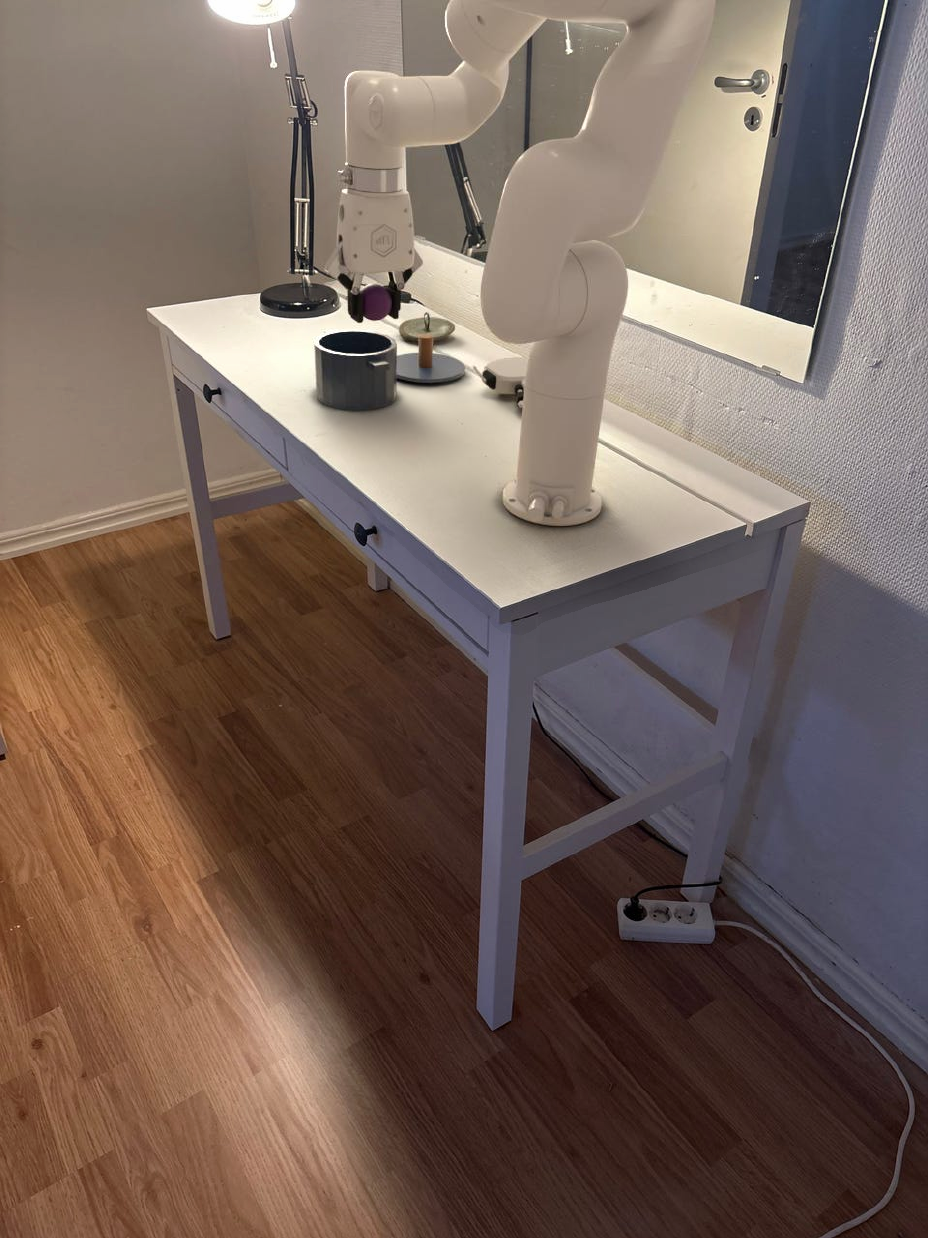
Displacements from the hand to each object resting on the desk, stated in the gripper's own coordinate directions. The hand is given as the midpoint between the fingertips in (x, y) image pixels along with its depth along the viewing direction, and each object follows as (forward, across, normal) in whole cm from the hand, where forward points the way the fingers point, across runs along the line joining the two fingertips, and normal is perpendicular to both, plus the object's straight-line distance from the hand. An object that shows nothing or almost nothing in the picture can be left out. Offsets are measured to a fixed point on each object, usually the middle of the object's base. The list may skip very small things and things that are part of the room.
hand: (374, 316), depth 132 cm
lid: (+15, +25, +30) cm, 41 cm away
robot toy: (+14, +25, -4) cm, 29 cm away
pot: (+14, 0, +7) cm, 16 cm away
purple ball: (-2, 0, 0) cm, 2 cm away
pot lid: (+14, +15, +13) cm, 24 cm away
